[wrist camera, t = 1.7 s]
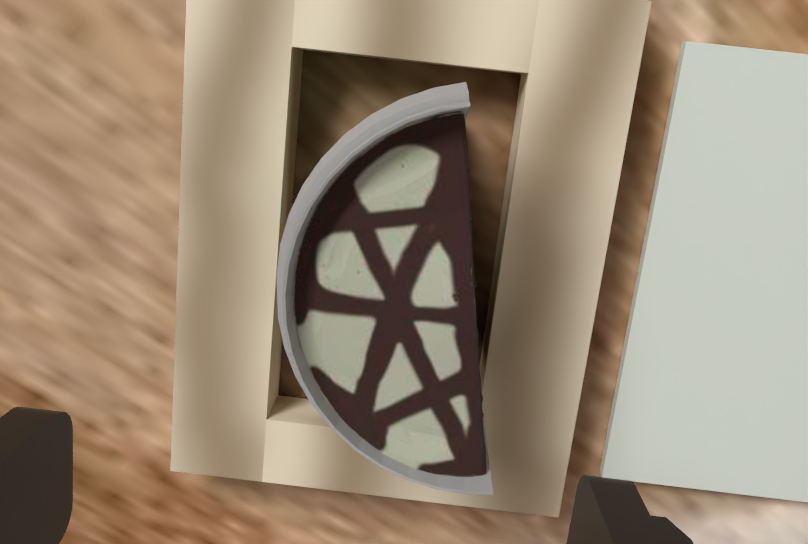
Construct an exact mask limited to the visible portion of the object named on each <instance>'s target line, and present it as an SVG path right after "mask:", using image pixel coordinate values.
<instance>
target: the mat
mask: <svg viewBox="0 0 808 544" xmlns="http://www.w3.org/2000/svg"><path fill="white" fill-rule="evenodd" d="M599 472H600V475H601V477H604V478H612V479H620V480H629V481H633V482H642V483H650V484H659V485H667V486H675V487H684V488H692V489H700V490H709V491H717V492H725V493H734V494H742V495H750V496H759V497H767V498H775V499H784V500H792V501H801V502H808V55H807V54H798V53H789V52H780V51H771V50H762V49H753V48H744V47H735V46H726V45H717V44H708V43H699V42H690V41H684V42H682V44H681V50H680V55H679V60H678V65H677V70H676V76H675V81H674V86H673V91H672V96H671V102H670V107H669V112H668V117H667V122H666V128H665V133H664V138H663V143H662V148H661V154H660V159H659V164H658V169H657V174H656V180H655V185H654V190H653V195H652V200H651V206H650V211H649V216H648V221H647V226H646V232H645V237H644V242H643V247H642V252H641V258H640V263H639V268H638V273H637V278H636V284H635V289H634V294H633V299H632V304H631V310H630V315H629V320H628V325H627V330H626V336H625V341H624V346H623V351H622V356H621V362H620V367H619V372H618V377H617V382H616V388H615V393H614V398H613V403H612V408H611V414H610V419H609V424H608V429H607V434H606V440H605V445H604V450H603V455H602V460H601V466H600V471H599Z"/></svg>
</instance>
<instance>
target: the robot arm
mask: <svg viewBox="0 0 808 544" xmlns="http://www.w3.org/2000/svg"><path fill="white" fill-rule="evenodd" d="M72 502H73V428H72V421H71V418H70V416H69V415H68V414H67V413H66V412H60V411H51V410H43V409H34V408H26V407H15V408H13V409H11V410H10V411H9V412H8V413H6V414H5V415H4V416H2V417H1V418H0V544H59V543H60V541H61V540H62V538H63V536H64V534H65V532H66V529H67V526H68V523H69V520H70V516H71V511H72ZM567 544H693V542H692V540H691V539H690V538H689V537H688V536H686V535H685V534H684V533H683V532H682V531H681V530H680V529H678V528H677V527H676V526H675V525H674V524H673V523H672V522H670V521H669V520H668V519H667V518H666V517H657V516H650V514H649V512H648V510H647V508H646V506H645V504H644V502H643V500H642V498H641V496H640V494H639V492H638V490H637V488H636V486H635V485H634V483H633V482H632V481H629V480H620V479H612V478H604V477H595V476H587V475H583V476H582V477H581V479H580V481H579V483H578V487H577V491H576V496H575V502H574V507H573V512H572V518H571V523H570V528H569V534H568V539H567Z"/></svg>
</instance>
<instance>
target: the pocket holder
mask: <svg viewBox="0 0 808 544" xmlns="http://www.w3.org/2000/svg"><path fill="white" fill-rule="evenodd" d="M651 2H652V1H646V0H186V30H185V59H184V88H183V118H182V147H181V176H180V206H179V235H178V264H177V294H176V323H175V353H174V382H173V411H172V441H171V470H170V471H176V472H185V473H193V474H201V475H209V476H218V477H226V478H234V479H243V480H251V481H259V482H267V483H276V484H284V485H292V486H301V487H309V488H317V489H326V490H334V491H342V492H350V493H359V494H367V495H375V496H384V497H392V498H400V499H408V500H417V501H425V502H433V503H442V504H450V505H458V506H466V507H475V508H483V509H491V510H500V511H508V512H516V513H524V514H533V515H541V516H549V517H558V518H559V512H560V507H561V501H562V495H563V490H564V484H565V479H566V473H567V468H568V462H569V457H570V451H571V446H572V440H573V434H574V429H575V423H576V418H577V412H578V407H579V401H580V396H581V390H582V385H583V379H584V373H585V368H586V362H587V357H588V351H589V346H590V340H591V335H592V329H593V324H594V318H595V312H596V307H597V301H598V296H599V290H600V285H601V279H602V274H603V268H604V263H605V257H606V251H607V246H608V240H609V235H610V229H611V224H612V218H613V213H614V207H615V202H616V196H617V190H618V185H619V179H620V174H621V168H622V163H623V157H624V152H625V146H626V141H627V135H628V129H629V124H630V118H631V113H632V107H633V102H634V96H635V91H636V85H637V80H638V74H639V68H640V63H641V57H642V52H643V46H644V41H645V35H646V30H647V24H648V19H649V13H650V7H651ZM303 50H311V51H320V52H329V53H338V54H347V55H355V56H364V57H373V58H382V59H391V60H400V61H409V62H418V63H427V64H436V65H445V66H454V67H463V68H472V69H481V70H490V71H499V72H508V73H517V74H521V79H520V86H519V93H518V100H517V107H516V114H515V121H514V128H513V135H512V142H511V149H510V156H509V163H508V170H507V177H506V184H505V191H504V198H503V205H502V212H501V219H500V226H499V233H498V240H497V247H496V254H495V261H494V268H493V275H492V282H491V289H490V296H489V303H488V310H487V317H486V324H485V331H484V338H483V345H482V352H481V359H480V376H481V393H482V396H483V402H482V408H483V414H484V424H485V432H486V440H487V448H488V456H489V464H490V472H491V480H492V488H493V495H478V494H461V493H455V492H449V491H443V490H437V489H433V488H430V487H427V486H424V485H420V484H417V483H414V482H411V481H407V480H405V479H403V478H401V477H399V476H397V475H395V474H393V473H391V472H389V471H386V470H384V469H382V468H380V467H379V466H377V465H376V464H374V463H373V462H371V461H370V460H368V459H367V458H365V457H364V456H362V455H361V454H359V453H358V452H356V451H355V450H354V449H353V448H352V447H351V446H350V445H349V444H348V443H346V442H345V441H344V440H343V439H342V438H341V437H340V436H339V435H338V434H337V433H336V432H334V431H333V429H332V428H331V427H330V426H329V425H328V424H327V423H326V422H325V420H324V419H323V418H322V417H321V415H320V414H319V413H318V412H317V410H316V409H315V408H314V407H313V405H312V404H311V403H310V401H309V400H308V399H306V398H298V397H289V396H281V395H279V383H280V369H281V356H282V342H283V339H282V335H281V330H280V325H279V320H278V305H277V267H278V258H279V250H280V243H281V240H282V236H283V233H284V229H285V226H286V222H287V219H288V215H289V213H290V211H291V209H292V203H293V189H294V175H295V161H296V147H297V133H298V119H299V105H300V92H301V78H302V64H303Z"/></svg>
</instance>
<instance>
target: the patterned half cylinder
mask: <svg viewBox="0 0 808 544" xmlns="http://www.w3.org/2000/svg"><path fill="white" fill-rule="evenodd" d="M470 107H471V105H470V102H469V91H468V87H467V83H466V82H463V83H457V84H451V85H446V86H440V87H434V88H431V89H428V90H425V91H422V92H419V93H416V94H413V95H410V96H407V97H405V98H402V99H399V100H398V101H396V102H394V103H392V104H390V105H388V106H386V107H384V108H382V109H380V110H379V111H377V112H375V113H373V114H371V115H370V116H368V117H367V118H366V119H364V120H363V121H362V122H360V123H359V124H358V125H356V126H355V127H354V128H352V129H351V130H350V131H348V132H347V133H346V134H344V135H343V136H342V137H341V138H340V139H339V140H338V141H337V142H336V144H335V145H334V146H333V147H332V148H331V149H330V150H329V151H328V152H327V153H326V154H325V155H324V156H323V157H322V158H321V159H320V161H319V162H318V164H317V165H316V167H315V168H314V169H313V171H312V172H311V174H310V175H309V177H308V178H307V180H306V181H305V182H304V184H303V185H302V187H301V190H300V192H299V194H298V196H297V198H296V200H295V202H294V204H293V206H292V209H291V211H290V213H289V215H288V219H287V222H286V226H285V229H284V233H283V236H282V240H281V243H280V250H279V258H278V267H277V305H278V320H279V325H280V330H281V335H282V339H283V344H284V348H285V351H286V354H287V356H288V359H289V362H290V364H291V367H292V369H293V372H294V375H295V377H296V379H297V380H298V382H299V384H300V386H301V387H302V389H303V391H304V393H305V394H306V396H307V398H308V400H309V401H310V403H311V404H312V405H313V407H314V408H315V409H316V410H317V412H318V413H319V414H320V415H321V417H322V418H323V419H324V420H325V422H326V423H327V424H328V425H329V426H330V427H331V428H332V429H333V431H334V432H336V433H337V434H338V435H339V436H340V437H341V438H342V439H343V440H344V441H345V442H346V443H348V444H349V445H350V446H351V447H352V448H353V449H354V450H355V451H356V452H358V453H359V454H361V455H362V456H364V457H365V458H367V459H368V460H370V461H371V462H373V463H374V464H376V465H377V466H379V467H380V468H382V469H384V470H386V471H389V472H391V473H393V474H395V475H397V476H399V477H401V478H403V479H405V480H407V481H411V482H414V483H417V484H420V485H424V486H427V487H430V488H433V489H437V490H443V491H449V492H455V493H461V494H478V495H493V488H492V480H491V472H490V464H489V456H488V448H487V440H486V432H485V424H484V414H483V408H482V402H483V396H482V393H481V376H480V359H479V351H478V340H479V332H478V328H477V316H476V300H475V288H476V287H477V283H476V281H475V279H474V270H475V267H474V263H473V249H472V225H473V221H472V219H471V218H472V215H471V205H470V189H469V168H468V156H467V142H466V129H465V118H466V116H467V113H468V111H469V109H470Z"/></svg>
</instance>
